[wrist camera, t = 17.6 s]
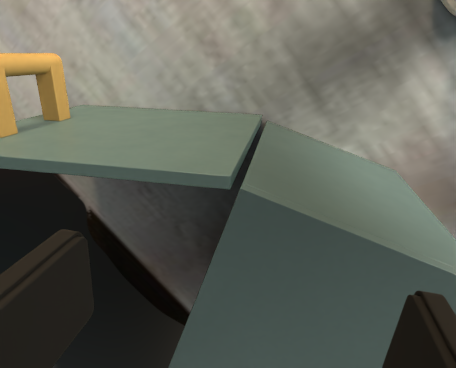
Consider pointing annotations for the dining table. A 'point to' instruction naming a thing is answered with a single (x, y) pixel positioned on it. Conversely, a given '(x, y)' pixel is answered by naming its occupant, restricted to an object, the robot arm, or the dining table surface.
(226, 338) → the cabinet
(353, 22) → the dining table surface
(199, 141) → the cabinet door
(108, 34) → the dining table surface
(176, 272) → the dining table surface
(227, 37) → the dining table surface
